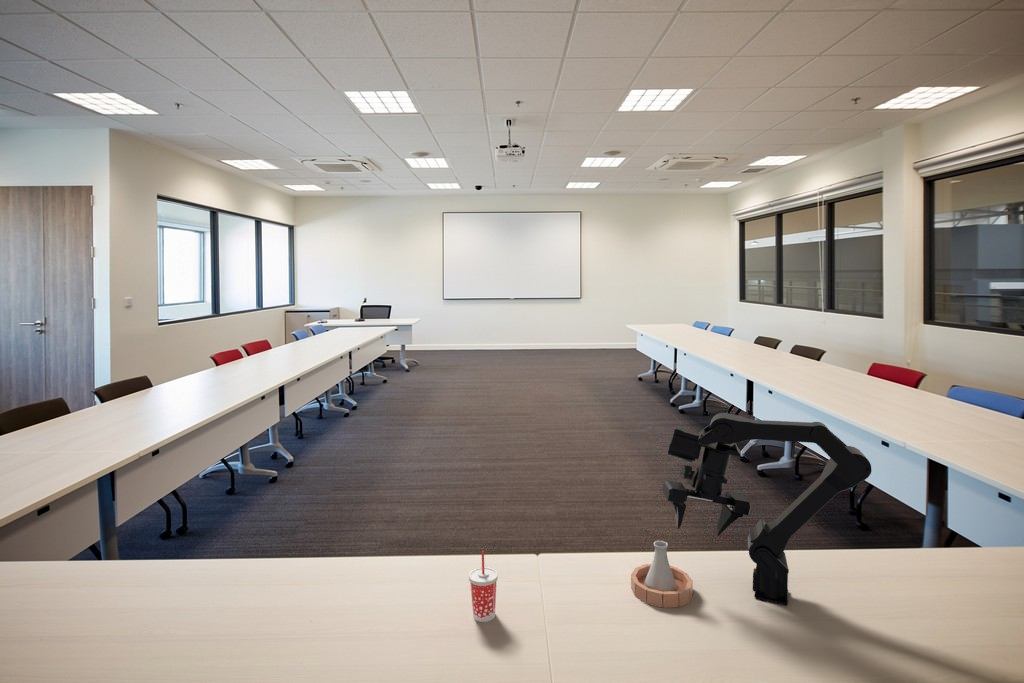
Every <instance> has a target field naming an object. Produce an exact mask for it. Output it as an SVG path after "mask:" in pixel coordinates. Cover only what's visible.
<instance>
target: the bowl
mask: <svg viewBox="0 0 1024 683" xmlns="http://www.w3.org/2000/svg"><path fill="white" fill-rule="evenodd" d="M651 564H652V563H646V564H642V565H640V566H637V567H635V568H634V569H633V570H632V573H631V574H630V589H631V591H632V593H633V595H634V597H635V598H637V599H639V600H640V601H642V602H643V603H644V604H647V605H651V606H653V607H654V606H655V607H659V608H664V609H665V608H680V607H682V606H685V605H687V604H689V603H691V600H692V597H693V594H694V593H693V589H694V587H693V583H694V582H693V580H692V578H691V577H690V575H689V574H688V573H687V572H686V571H684V570H683V569H680V568H678V567H675V566H673V565H670V568H671V571H672V574H673V577H674V579H675V582H676V587H677V590H675V591H667V592H662V591H658V590H654V589H649V588H647V587H646V586H645V579H646V577H647V574H648V572H649V570H650V567H651Z"/></svg>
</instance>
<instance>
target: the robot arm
mask: <svg viewBox="0 0 1024 683" xmlns="http://www.w3.org/2000/svg"><path fill="white" fill-rule="evenodd" d="M753 440H754V441H755V440H759V441H760V440H761V441H776V442H777V441H779V442H792V443H793V442H794V443H795V442H796V443H810V444H811V443H813V444H816V445H817V446H818V447H819V448H821V450H822V451H823V452H824V453H825V454H826V456H828V457H829V459H828V460H827V462H826V463H825V465H824V469H823V470H822V472H821V474H820V476H819V477H818V478H817V479H816V480H815V481H814V482H812V484H811V485H809V487H807V488H806V489H805V490H804V491H803V492H802V493H801V494H800V495H799V496H798V497H797V498H796V499H795V500H794V501H793V502H792V503H791V504H790V505H789V506H787V508H786V509H784V510H783V511H782V513H780V514H779V515H778V516H777V517H776V518H775V519H773V520H771V521H769V522H766V521H765V520H764V519H763V518H760V519H759V521H758V522H757V523H756V525H754V526H753V527H752V528H751V527H750V528H749V529H748V530H749V534H748V536H747V547H748V555H749V558H750V560H752V561H753V563H754V564H756V565H755V566H756V567H755V568H753V572H752V591H753V592H754V598H755V599H757V600H762V601H766V602H770V603H775V604H779V605H782V606H783V605H784V606H788V605H789V589H788V586H789V585H788V583H789V571H790V569H789V565H788V561H787V557H786V552H785V549H786V548H787V545H788V543H789V541H790V539H791V538H792V537H793V535H795V534H796V533H797V532H798V531H799V530H801V528H802V527H803V526H804V525H806V524H807V523H808V522H809V521H810V520H811V519H813V517H814V516H816V515H817V513H819V511H821V510H822V509H823V508H824V507H825V506H826V505H827V504H828V503H830V501H831V500H832V499H834V498H835V496H837V495H838V494H840V493H841V492H845V491H848V490H849V489H852V488H855V487H856V486H857V485H859V484H861V483H862V482H864V481H865V480H867V479H868V478H869V477H870V476H871V474H872V471H873V470H872V465H871V462H870V460H869V459H868V458H867V457H866V456H865V455H864V453H863V452H862V451H861V450H860V449H858V448H857V447H855V446H851V445H847V444H846V443H845V442H844V441H842V439H840V438H839V437H838V436H837V435H835V434H834V433H833V432H832V431H831V430H830V429H829V428H828V427H827V426H826V424H825V423H823V422H821V421H813V422H812V421H811V422H809V421H808V422H806V421H805V422H804V421H803V422H802V421H785V420H784V421H782V420H764V419H763V420H761V419H751V418H748V417H745V416H741V415H738V414H732V413H727V412H719V413H716V414H715V415H714V416H713V417H712V418H711V420H710V424H708V425H707V426H705V428H703V429H701V430H700V431H699V432H698V433H696V432H692V431H689V430H685V429H683V428H681V427H678V426H677V427H675V428H674V432H673V435H672V438H671V440H670V444H669V446H668V450H667V456H669V457H673V458H675V459H679V460H682V461H686V462H689V463H693V462H695V461H696V460H699V458H700V454H701V450H702V448H704V449H703V452H702V457H701V460H700V464H699V465H697V467H696V470H693V467H692V466H691V465H686V464H682V466H681V469H680V474H679V475H680V476H679V477H680V479H684V480H686V484H689V486H690V487H691V488H693V489H691V488H690V489H689V488H686V487H685V486H684V485H683V483H682V482H679V481H674V480H673V481H672V480H666V481H665V482H663V483H662V484H663V485H662V487H661V488H662V489H661V492H662V493H663V495H664V496H665V498H666V500H667V501H668V502H670V503H671V504H672V505H673V509H674V516H675V518H674V519H675V525H676V526H675V527H676V529H678V530H679V529H681V526H682V523H683V520H684V516H685V513H686V508H687V505H686V502H687V499H690V500H698V501H703V502H709V503H715V504H719V505H721V512H720V514H719V519H718V522H717V525H716V527H715V535H716V536H717V537H719V536H720V535H721V534H722V533H723V532H725V530H726V529H727V528H728V527H729V526H730V525H731V524H733V523H734V522H735V521H736V520H738V519H739V518H744V516H749V515H751V514H750V513H751V511H752V510H751V509H752V504H751V502H750V501H749V500H748V498H746V496H744V495H743V493H740V492H734V491H729V490H727V491H725V492H724V495H722V492H723V488H724V484H725V485H727V483H728V478H727V477H726V476H727V473H728V468H729V465H730V460H731V456H734V457H736V458H740V457H742V452H741V451H742V450H740V448H739V447H738V445H737V443H743V442H747V441H753Z"/></svg>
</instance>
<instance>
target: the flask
mask: <svg viewBox="0 0 1024 683" xmlns="http://www.w3.org/2000/svg"><path fill="white" fill-rule="evenodd" d="M653 547H654V555H653V559H652V562H651V563H650V564H651V567H650V570H649V572H648V574H647V577H646V579H645V586H646V587H647V588H649V589H654V590H658V591H662V592H667V591H675V590H677V587H676V582H675V579H674V577H673V574H672V571H671V568H670V566H671V565H670V563H669V558H668V552H667V549H668V548H669V544H668V542H666V541H664V540H655V541H654V542H653Z"/></svg>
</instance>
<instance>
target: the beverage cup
mask: <svg viewBox="0 0 1024 683" xmlns="http://www.w3.org/2000/svg"><path fill="white" fill-rule="evenodd" d="M498 575H499V572H498V571H497V570H496V569H494V568H492V567H488V566H487V567H486V566H485V551H484V550H482V551H481V567H476V568H475V569H472V570H471V571H470V572H469V573H468V580H469V583H470V592H471V594H470V595H471V604H472V606H471V607H472V616H473V619H474V620H475V621H477V622H480V623H487V622H491V621H492V620H494V619H495V617H496V598H497V581H498V577H499V576H498Z"/></svg>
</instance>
